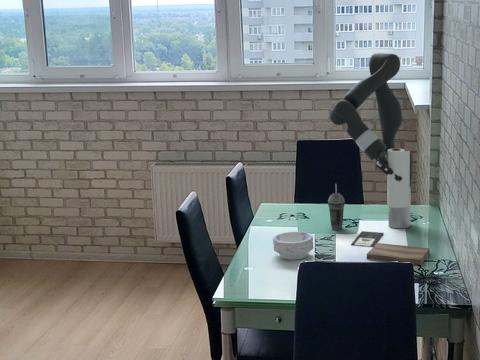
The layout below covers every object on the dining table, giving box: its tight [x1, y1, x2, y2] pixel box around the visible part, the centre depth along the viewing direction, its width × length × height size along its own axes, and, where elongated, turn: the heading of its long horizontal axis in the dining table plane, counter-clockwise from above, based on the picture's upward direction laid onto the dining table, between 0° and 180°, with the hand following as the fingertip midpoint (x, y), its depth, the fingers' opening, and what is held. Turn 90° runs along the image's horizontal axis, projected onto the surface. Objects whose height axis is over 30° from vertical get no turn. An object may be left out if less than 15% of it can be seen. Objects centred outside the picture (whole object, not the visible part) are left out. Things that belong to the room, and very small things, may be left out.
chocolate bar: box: [350, 230, 384, 248], centre depth 286 cm, size 9×1×18 cm
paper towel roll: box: [386, 148, 411, 208], centre depth 258 cm, size 7×6×21 cm
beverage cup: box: [327, 183, 346, 231], centre depth 301 cm, size 7×7×20 cm
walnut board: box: [366, 242, 431, 266], centre depth 264 cm, size 14×20×2 cm
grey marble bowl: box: [272, 231, 314, 261], centre depth 269 cm, size 15×15×8 cm
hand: (402, 179), depth 257 cm, fingers closed on paper towel roll, 3 cm apart
